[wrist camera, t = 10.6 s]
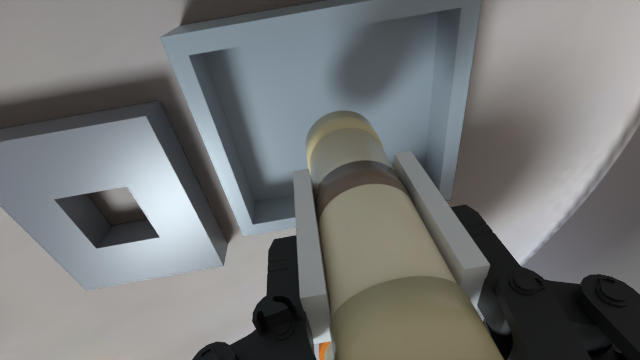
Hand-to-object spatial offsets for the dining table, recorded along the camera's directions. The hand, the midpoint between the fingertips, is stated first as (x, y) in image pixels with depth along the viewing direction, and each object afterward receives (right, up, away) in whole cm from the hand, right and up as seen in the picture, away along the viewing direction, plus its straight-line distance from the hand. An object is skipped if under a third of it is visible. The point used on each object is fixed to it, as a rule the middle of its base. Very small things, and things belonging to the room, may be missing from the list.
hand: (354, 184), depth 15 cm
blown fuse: (0, +2, +3) cm, 4 cm away
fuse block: (-17, -1, +9) cm, 19 cm away
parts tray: (-1, +5, +7) cm, 9 cm away
